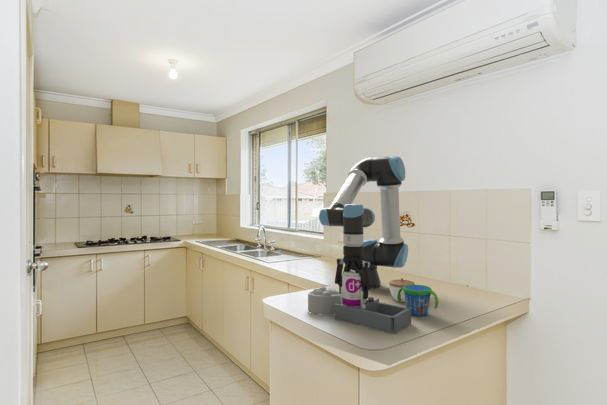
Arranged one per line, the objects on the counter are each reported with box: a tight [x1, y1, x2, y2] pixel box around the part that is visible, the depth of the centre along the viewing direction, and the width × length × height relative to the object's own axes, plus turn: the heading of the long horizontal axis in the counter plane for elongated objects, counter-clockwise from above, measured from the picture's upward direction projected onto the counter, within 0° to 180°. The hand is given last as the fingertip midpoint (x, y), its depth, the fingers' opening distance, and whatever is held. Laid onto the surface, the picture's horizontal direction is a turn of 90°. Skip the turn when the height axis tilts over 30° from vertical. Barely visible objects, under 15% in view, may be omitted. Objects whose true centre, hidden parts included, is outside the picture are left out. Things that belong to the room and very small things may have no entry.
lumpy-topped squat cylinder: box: [307, 286, 342, 316], centre depth 147 cm, size 10×13×9 cm
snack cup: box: [397, 284, 439, 317], centre depth 143 cm, size 16×10×10 cm
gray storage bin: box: [334, 299, 412, 335], centre depth 134 cm, size 24×13×6 cm, turn 50°
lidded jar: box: [389, 278, 416, 303], centre depth 162 cm, size 11×11×9 cm
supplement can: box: [342, 270, 363, 309], centre depth 139 cm, size 8×8×15 cm
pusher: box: [362, 296, 380, 313], centre depth 134 cm, size 2×10×7 cm, turn 140°
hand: (353, 305), depth 139 cm, fingers closed on supplement can, 8 cm apart
